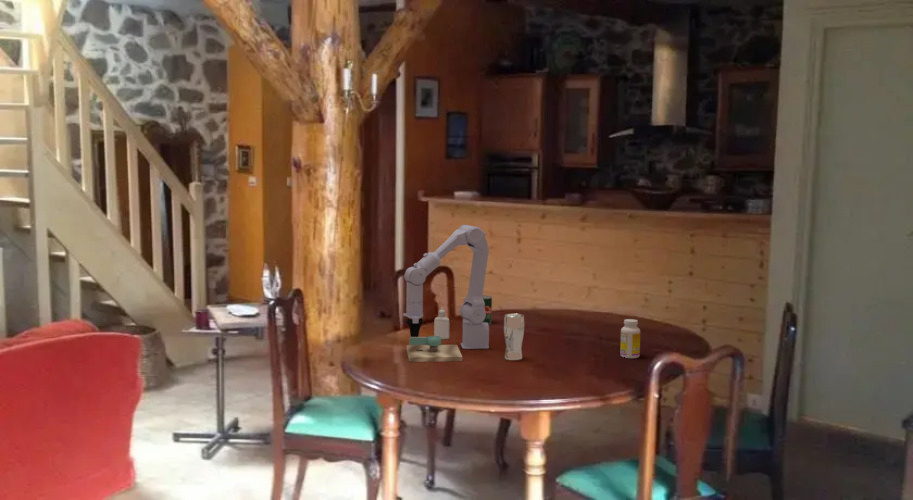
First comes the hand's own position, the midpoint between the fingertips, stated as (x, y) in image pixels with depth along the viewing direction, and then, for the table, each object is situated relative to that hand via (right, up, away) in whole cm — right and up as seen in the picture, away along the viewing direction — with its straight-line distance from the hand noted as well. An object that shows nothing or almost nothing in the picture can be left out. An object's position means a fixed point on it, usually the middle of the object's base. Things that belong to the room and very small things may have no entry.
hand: (414, 339), depth 307 cm
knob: (+4, -1, -5) cm, 6 cm away
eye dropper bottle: (+9, -2, +22) cm, 24 cm away
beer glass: (+34, -6, -7) cm, 36 cm away
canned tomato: (+25, +1, +52) cm, 58 cm away
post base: (+7, -5, -4) cm, 9 cm away
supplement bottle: (+75, -6, -3) cm, 75 cm away
